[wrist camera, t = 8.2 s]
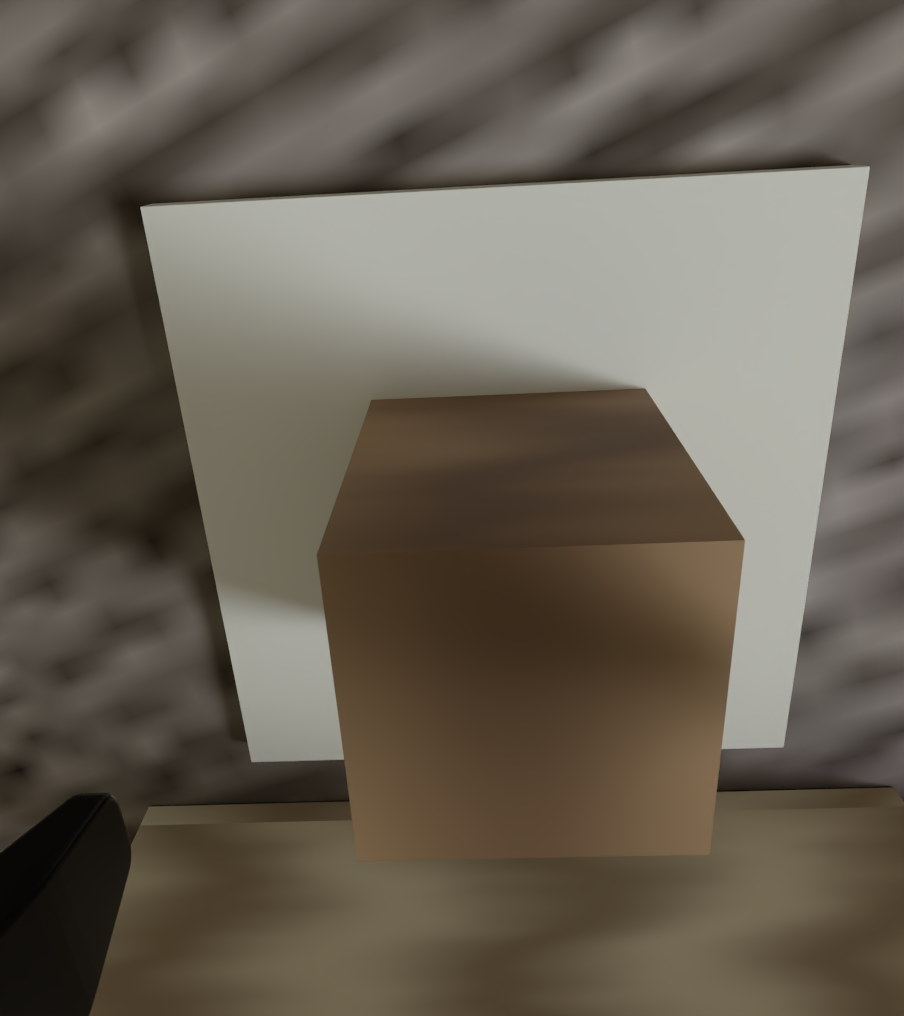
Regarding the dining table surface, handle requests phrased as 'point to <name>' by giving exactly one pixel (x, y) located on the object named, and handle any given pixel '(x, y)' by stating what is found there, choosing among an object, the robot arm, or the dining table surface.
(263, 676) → the grey mat
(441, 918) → the slot box
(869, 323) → the dining table surface
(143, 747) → the dining table surface
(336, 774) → the dining table surface
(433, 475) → the walnut block
